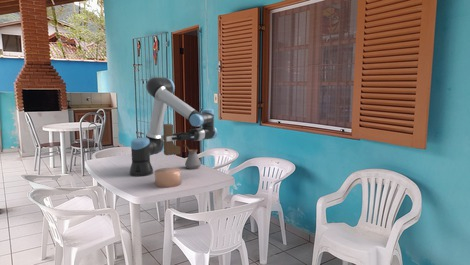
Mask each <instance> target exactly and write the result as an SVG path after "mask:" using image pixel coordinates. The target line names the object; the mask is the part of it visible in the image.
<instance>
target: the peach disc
mask: <svg viewBox="0 0 470 265" xmlns="http://www.w3.org/2000/svg"><path fill="white" fill-rule="evenodd" d="M181 173H182V172H181V169H180V168H176V167H162V168H158V169H155V171H154V180H155V181H154V183H155V184H154V185H155V187H158V188H174V187H178V186H180V185H182V181H181V180H182V178H181Z"/></svg>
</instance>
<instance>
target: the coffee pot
mask: <svg viewBox="0 0 470 265" xmlns="http://www.w3.org/2000/svg"><path fill="white" fill-rule="evenodd" d="M183 147H185V149H186V150H187V152H188V156H187V158H186V161H185V163H184V165H185V167H186V168H187V169H189V170H197V169H199V168H200V167H201V165H202V162H201V160H200V157H199V156H198V153H197V152H198V149H190V148H189V147H188V146H187V144H184V145H183Z"/></svg>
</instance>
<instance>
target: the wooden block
mask: <svg viewBox="0 0 470 265" xmlns="http://www.w3.org/2000/svg"><path fill="white" fill-rule="evenodd" d="M173 134H174V125H173V124H171V123H163V135H164V140H163V141H164V149H163V155H165V156H172V155H173V156H174V155H181V146H179V145H177V144H175V143H174V141H166V137H169V136H173Z"/></svg>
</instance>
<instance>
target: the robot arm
mask: <svg viewBox="0 0 470 265" xmlns="http://www.w3.org/2000/svg"><path fill="white" fill-rule="evenodd" d="M175 87H176V86H175V83H174V81H173V80H172V79H170V78H168V77H157V76H156V77H155V76H154V77H151V78H149V79H148V80H147V82H146V85H145V88H146V91H147V93H148V94H149V96H152V98H153V105H152V110H151V117H150V123H149V130H148V132H147V133H146V134H145V137H137V138H134V139H132V140H131V142H130V143H131V145H130V150H131V164H130V168H129V175H130V176H133V177H145V176H146V177H147V176H150V175H152V174H153V173H154V169H153V166H152V164H151V156H153V155H157V154H159V153H161V152H162V151H164V134H162V132H163V131H162V130H163V128H164V126H163V125H164V120H165V115H166V109H167V106H168V107H169V108H171V109H173V110H174V111H175V112H176V113H178V114H180V115H181V116H182V117H183V118H185V119H186V120H188V121H189V124H190V125H191V126H192V127H200V128H192V129H191V128H190V129H189V130H188V132H177V133H175V132H173V136H169V137H166V141H173V142H174V141H180V142H181V141H188V140H189V141H190V142H195V141H196V142H197V141H198V142H201V141H205V140H212V139H215V138H217V137H218V134H219V133H218V129H217V127H215V122H214V121H215V114H214V113H215V112H214V111H215V110H214V109H213V108H204V109H202V110H201V112H199V111H198V110H196V109H195V108H193V107H192V106H191V105H189V104H188V103H186V102H184V101H183V100H182V99H180V98H179V97H178V96H176V95H174V94H173V93H174V92H175V89H176V88H175ZM201 126H202V127H201Z"/></svg>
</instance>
